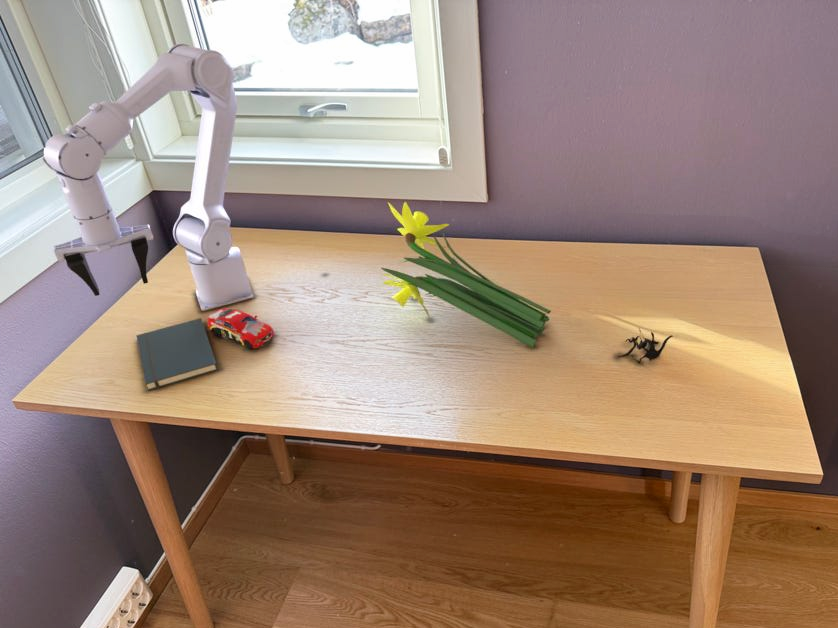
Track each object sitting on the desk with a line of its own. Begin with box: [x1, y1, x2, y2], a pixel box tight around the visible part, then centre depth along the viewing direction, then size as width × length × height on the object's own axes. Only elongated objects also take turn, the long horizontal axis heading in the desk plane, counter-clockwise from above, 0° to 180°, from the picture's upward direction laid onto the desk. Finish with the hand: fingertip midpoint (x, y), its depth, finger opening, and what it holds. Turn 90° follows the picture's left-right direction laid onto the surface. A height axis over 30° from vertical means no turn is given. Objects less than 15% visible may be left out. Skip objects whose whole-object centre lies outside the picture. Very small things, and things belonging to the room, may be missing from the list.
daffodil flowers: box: [378, 201, 552, 348], centre depth 130 cm, size 17×15×35 cm
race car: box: [207, 308, 275, 350], centre depth 131 cm, size 13×5×4 cm, turn 56°
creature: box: [618, 328, 674, 364], centre depth 120 cm, size 8×5×8 cm
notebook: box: [136, 317, 219, 392], centre depth 128 cm, size 11×16×1 cm
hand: (121, 286), depth 127 cm, fingers open, 7 cm apart
